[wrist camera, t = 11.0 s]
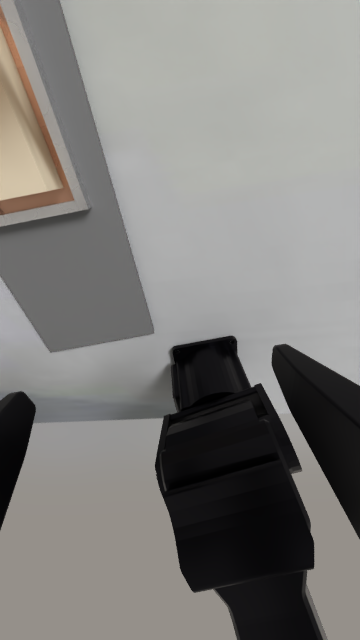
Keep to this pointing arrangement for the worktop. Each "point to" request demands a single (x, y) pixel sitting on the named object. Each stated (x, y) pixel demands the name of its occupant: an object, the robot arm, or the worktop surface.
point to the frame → (7, 12)
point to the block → (21, 137)
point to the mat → (74, 224)
